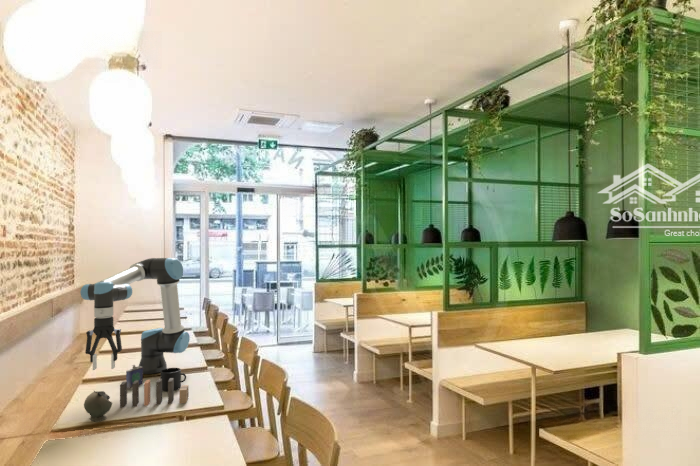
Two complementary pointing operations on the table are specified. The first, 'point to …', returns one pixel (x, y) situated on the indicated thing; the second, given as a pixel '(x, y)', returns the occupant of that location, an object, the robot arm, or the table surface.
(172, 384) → the domino
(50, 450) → the table surface
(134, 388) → the domino
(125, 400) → the domino
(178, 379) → the mug
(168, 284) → the robot arm
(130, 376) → the flask
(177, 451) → the table surface
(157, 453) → the table surface
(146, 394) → the domino
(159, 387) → the domino
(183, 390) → the bookend
